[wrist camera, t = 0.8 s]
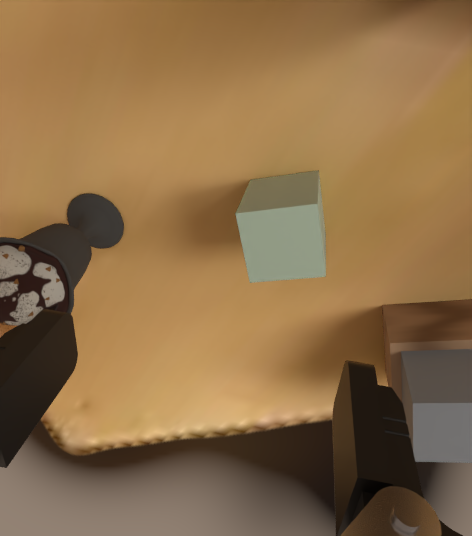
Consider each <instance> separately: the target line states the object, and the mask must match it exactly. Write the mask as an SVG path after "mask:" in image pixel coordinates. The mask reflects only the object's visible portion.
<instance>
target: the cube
mask: <svg viewBox="0 0 472 536" xmlns="http://www.w3.org/2000/svg"><path fill="white" fill-rule="evenodd" d="M401 377H402V403H403V407H404V411H405V416H406V420H407V421H406V424H407V425H408V430H409V434H410V435H409V438H410V439H411V444H412V448H413V453H414V458H415V461H421V462H465V463H472V349H453V350H424V351H401Z"/></svg>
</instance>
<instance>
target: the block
mask: <svg viewBox="0 0 472 536" xmlns="http://www.w3.org/2000/svg"><path fill="white" fill-rule="evenodd" d="M235 214H236V219H237V224H238V229H239V233H240V238H241V243H242V248H243V252H244V257H245V262H246V267H247V271H248V276H249V281H250V283H252V282H265V281H277V280H290V279H303V278H315V277H326V232H325V223H324V214H323V205H322V196H321V187H320V177H319V170H318V171H311V172H304V173H296V174H289V175H282V176H275V177H267V178H260V179H253V180H250V182H249V184H248V187H247V189H246V191H245V193H244V195H243V198H242V200H241V202H240V204H239V207H238V209H237V211H236V213H235Z"/></svg>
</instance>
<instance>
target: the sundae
mask: <svg viewBox="0 0 472 536" xmlns="http://www.w3.org/2000/svg"><path fill="white" fill-rule="evenodd" d="M67 217H68V222H69V225H67V224H52V225H50V226H47V227H44V228H41V229H39V230H37V231H35V232H33V233H31V234H29V235H27V236H25V237H24V238H21V239H15V238H6V237H0V323H1V324H2V325H20V324H22V323H25V324H29V323H30V322H31V321H32V319H33V318H34V317H35V316H36V315H37V314H38V313H39V312H40V311H42V310H44V309H47V310H53V311H59V312H65V313H70V314H71V312H72V309H73V306H74V288H75V287H76V285H77V284H78V282H79V281H80V279H81V278H82V276H83V274H84V273H85V271H86V269H87V266H88V264H89V262H90V260H91V255H92V253H91V246H92V247H95V248H109V247H112V246H114V245H115V244H117V243H118V242H119V240H120V239H121V237H122V235H123V230H124V224H123V220H122V217H121V215H120V213H119V211H118V210H117V208H116V207H115V206H114V205H113V204H112V203H111V202H110V201H108V200H107V199H105V198H104V197H102V196H99V195H95V194H82V195H79V196H77V197H76V198H74V199H73V200H72V201H71V203H70V205H69V207H68V212H67Z"/></svg>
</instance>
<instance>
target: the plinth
mask: <svg viewBox="0 0 472 536" xmlns="http://www.w3.org/2000/svg"><path fill="white" fill-rule="evenodd" d="M382 309H383V328H384V347H385V366H386V375H387V381H388V386H389V387H391V388H392V389H393V390H394V391H395V393H396V394H397V396H398V397H399V399H400V400H401V402H402V377H401V351H424V350H453V349H472V299H469V300H454V301H438V302H423V303H407V304H392V305H382Z"/></svg>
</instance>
